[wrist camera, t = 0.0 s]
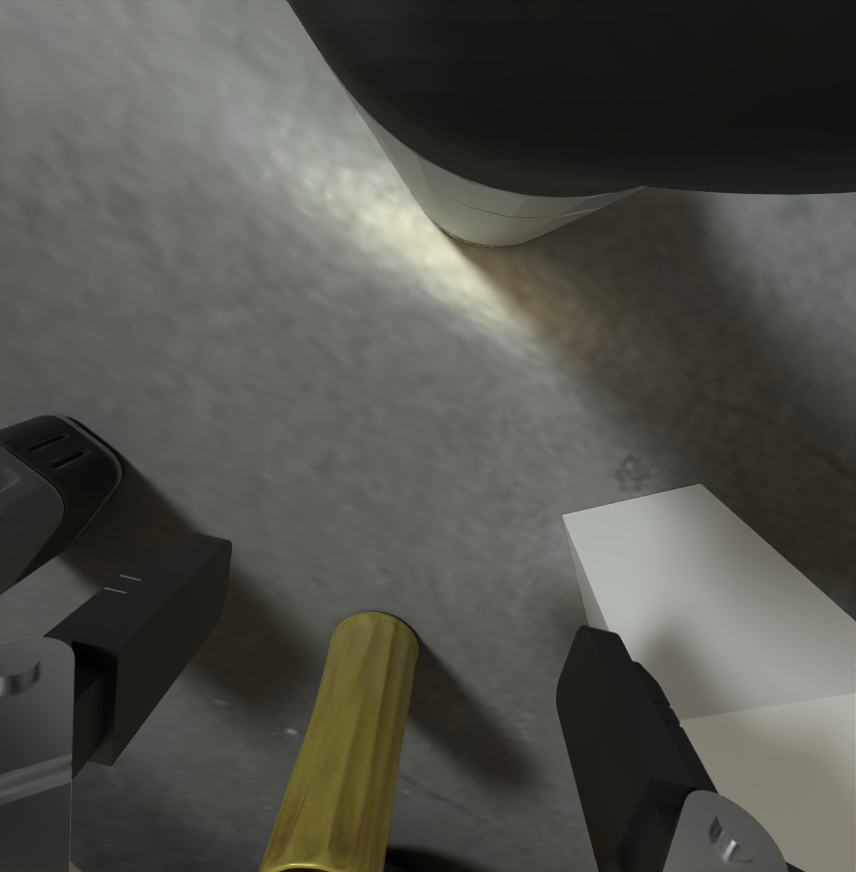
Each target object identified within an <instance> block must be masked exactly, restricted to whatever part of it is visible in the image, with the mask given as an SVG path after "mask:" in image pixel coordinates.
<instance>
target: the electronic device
mask: <svg viewBox="0 0 856 872" xmlns="http://www.w3.org/2000/svg"><path fill="white" fill-rule="evenodd" d="M121 477H122V469H121V465H120V463H119V461H118V459H117V458H116V456H115V455H114V454H113V453H112V452H111V451H110V450H109V449H108V448H106V447H105V446H104V445H103V444H101V443H100V442H99V441H97V440H96V439H95V438H94V437H92V436H91V435H90V434H88V433H87V432H86V431H84V430H83V429H82V428H81V427H79V426H78V425H77V424H75V423H74V422H73V421H71V420H70V419H68V418H66V417H64V416H62V415H59V414H52V413H51V414H45V415H42V416H39V417H36V418H33V419H30V420H27V421H25V422H22V423H19V424H16V425H13V426H10V427H7V428H4V429H1V430H0V595H1V594H3V593H4V592H5V591H7V590H8V589H9V588H11V587H12V586H14V585H15V584H17V583H18V582H20V581H21V580H22V579H24V578H25V577H27V576H28V575H29V574H31V573H32V572H34V571H35V570H37V569H38V568H39V567H41V566H42V565H44V564H45V563H47V562H48V561H49V560H51V559H52V558H54V557H55V556H57V555H58V554H59V553H61V552H62V551H64V550H65V549H66V548H68V547H69V546H71V545H72V544H73V543H74V542H75V541H76V539H77V538H78V537H79V536H80V534H81V533H82V532H83V530H84V529H85V528H86V526H87V525H88V524H89V523H90V521H91V520H92V519H93V517H94V516H95V515H96V514H97V512H98V511H99V510H100V508H101V507H102V506H103V504H104V503H105V502H106V501H107V499H108V498H109V497H110V495H111V494H112V493H113V492H114V490H115V489H116V487H117V486H118V485H119V483H120V480H121Z"/></svg>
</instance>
